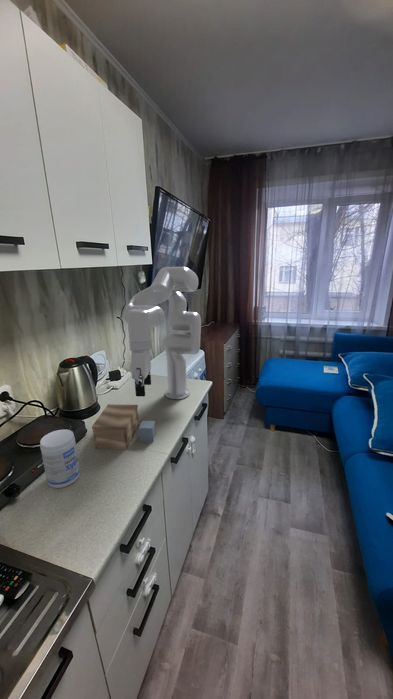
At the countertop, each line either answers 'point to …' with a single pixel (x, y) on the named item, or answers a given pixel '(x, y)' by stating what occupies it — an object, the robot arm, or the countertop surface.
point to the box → (116, 436)
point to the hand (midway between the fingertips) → (143, 390)
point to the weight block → (147, 431)
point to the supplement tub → (60, 458)
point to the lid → (115, 417)
